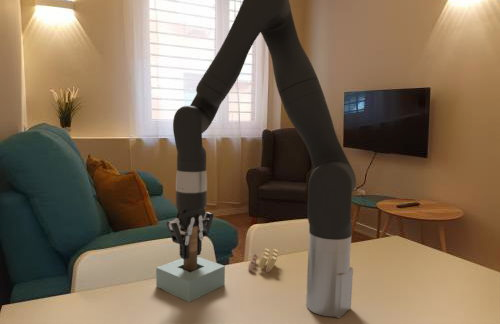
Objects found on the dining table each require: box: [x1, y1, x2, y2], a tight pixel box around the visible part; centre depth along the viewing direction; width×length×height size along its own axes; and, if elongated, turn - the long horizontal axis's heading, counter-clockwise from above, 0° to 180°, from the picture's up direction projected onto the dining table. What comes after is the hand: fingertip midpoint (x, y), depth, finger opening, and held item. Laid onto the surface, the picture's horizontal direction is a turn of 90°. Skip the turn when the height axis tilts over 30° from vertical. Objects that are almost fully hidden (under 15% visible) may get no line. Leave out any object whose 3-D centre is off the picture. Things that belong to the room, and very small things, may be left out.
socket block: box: [155, 255, 226, 303], centre depth 95 cm, size 12×12×5 cm
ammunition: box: [247, 247, 279, 273], centre depth 108 cm, size 5×7×8 cm
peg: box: [183, 226, 198, 272], centre depth 94 cm, size 3×3×12 cm
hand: (190, 256), depth 94 cm, fingers closed on peg, 3 cm apart
